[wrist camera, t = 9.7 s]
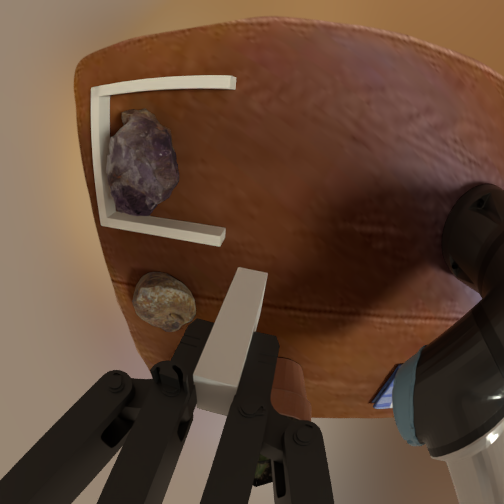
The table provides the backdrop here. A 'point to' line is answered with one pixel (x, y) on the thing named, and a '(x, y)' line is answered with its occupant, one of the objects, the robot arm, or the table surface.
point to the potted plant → (285, 406)
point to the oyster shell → (163, 301)
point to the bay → (101, 150)
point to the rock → (141, 164)
